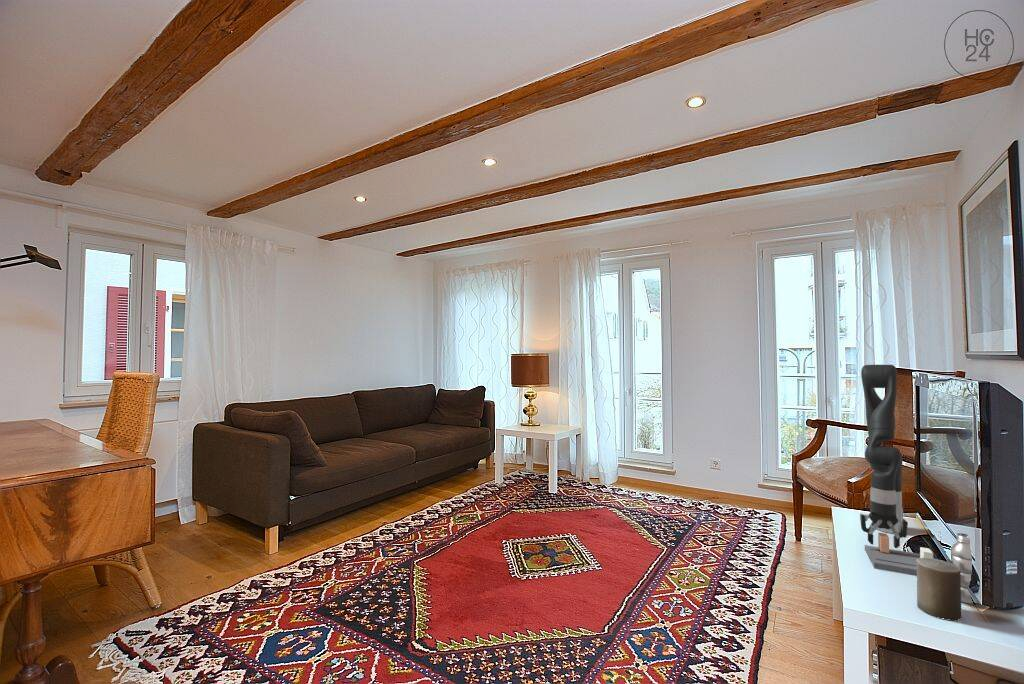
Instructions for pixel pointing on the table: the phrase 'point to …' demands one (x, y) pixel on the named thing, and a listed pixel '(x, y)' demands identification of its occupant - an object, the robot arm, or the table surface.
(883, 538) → the block
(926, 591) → the pillar candle
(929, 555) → the cream fader
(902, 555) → the fader panel
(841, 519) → the table surface
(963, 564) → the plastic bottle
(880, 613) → the table surface
